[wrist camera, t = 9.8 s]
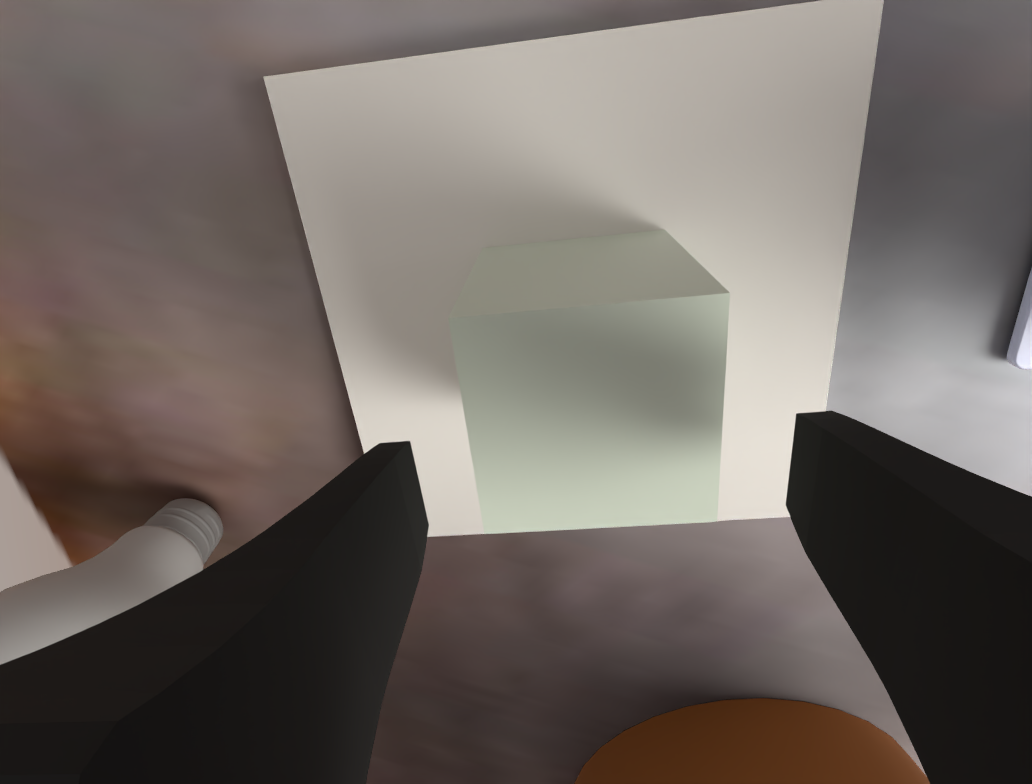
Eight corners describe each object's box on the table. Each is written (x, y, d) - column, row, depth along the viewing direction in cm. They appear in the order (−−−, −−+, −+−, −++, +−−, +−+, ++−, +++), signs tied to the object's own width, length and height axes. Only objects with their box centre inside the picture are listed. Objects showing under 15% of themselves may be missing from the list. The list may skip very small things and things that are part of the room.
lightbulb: (175, 576, 25) (-61, 870, 16) (100, 464, 23) (-240, 730, 13) (299, 554, 24) (131, 852, 15) (235, 435, 22) (-22, 697, 12)
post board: (860, 0, 15) (1046, -69, 9) (797, 495, 22) (883, 626, 16) (281, 79, 16) (145, 60, 11) (394, 519, 23) (346, 646, 18)
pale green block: (664, 229, 17) (730, 293, 11) (663, 394, 19) (716, 521, 13) (482, 248, 17) (448, 317, 11) (503, 406, 19) (484, 534, 13)
